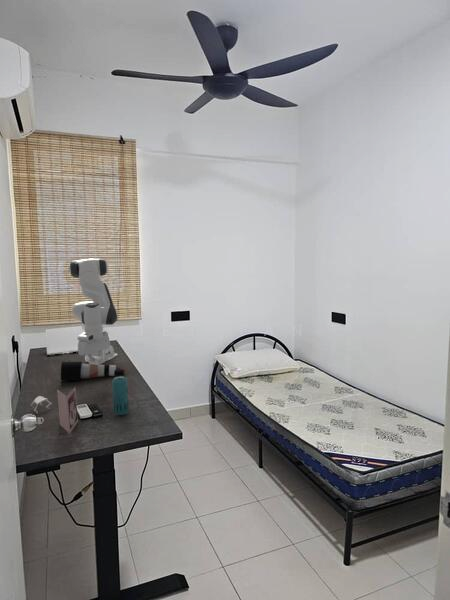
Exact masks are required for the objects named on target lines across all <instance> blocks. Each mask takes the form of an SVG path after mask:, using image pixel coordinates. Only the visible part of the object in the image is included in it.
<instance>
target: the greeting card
mask: <svg viewBox="0 0 450 600" xmlns="http://www.w3.org/2000/svg"><path fill="white" fill-rule="evenodd" d="M56 390H57V403H58V412H59V413H58V415H59V416H58V417H59V425H60V426H61V428H63V429H64V430H65V431H66V432H67V433H68V434H71V433H72V431H73V430H74V429H75V427H76V425H77V424H78V422H79V419H78V415H79V414H78V404H77V391H76V387H73V388H72V390H71V391H70V392H69V393H68V394H67V395H66V394H65V393H63V392H61V390H59V389H56Z"/></svg>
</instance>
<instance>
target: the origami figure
mask: <svg viewBox="0 0 450 600" xmlns="http://www.w3.org/2000/svg"><path fill="white" fill-rule="evenodd" d="M45 401H46V402H47V403H48V404H47V405H46V406H45V408H46V409H49V410H50V409H51V408H50V407H49V406H51V405H53V403H52V402H51V401H49V400H48V398H47V397H44V396H41V395H38V396H37V397H36V398H35V399H34V400H33V401H32V403H30V406H31V407H32V408H33V409H34V410H33V412H35V413H36V415H38V413H39V411H38V410H37V408H38V405H40V406H44V405H43V404H42V402H45ZM34 404H36V406H35V407H34V406H33V405H34Z"/></svg>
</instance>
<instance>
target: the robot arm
mask: <svg viewBox="0 0 450 600" xmlns="http://www.w3.org/2000/svg"><path fill="white" fill-rule="evenodd" d="M68 269H69V271H68V272H69V273H70V275H71V277H72V278H77V279H78V281H79V285H80V287H81V293H82V295H83V296H84V297H85V298H87V299H89V300H91V301H81V302H77V303H74V304H73V306H72V307H71V313H72V315H73V317H75V319H77V320H78V321H80V322H81V324H82V325H83V328H84V331H82V332H83V333H82V334H81V335H79V336H78V340H79V342H78V352H77V353H78V355H79V356H80V357H84V362H86V363H89V362H88V357H89V358H90V361H91V362H93V361H95V360H94V359H95V358H93V356H102V359H104V360H105V362H107V361H110V360H112V359H113V358H116V357H118V356H119V355H118V353H116V352H115V349H114V347H113V346H112V345H111V342H110V337H109V333H108V332H107V331H106V330H104V325H108V326H110V325H114V324H115V323H116V322H117V320H118V312H117V309H116V307H115V305H114V302H113V299H112V295H111V293H110V290H109V288H108V286H107V283H105V282H103V281H102V279H100V277H102V276H105V275H106V274H107V273H108V269H109V266H108V263H107V261H106V260H105V259H104V258H88V259H87V258H85V259H78V260H77V259H76V260H72V261H70V264H69V266H68Z"/></svg>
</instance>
